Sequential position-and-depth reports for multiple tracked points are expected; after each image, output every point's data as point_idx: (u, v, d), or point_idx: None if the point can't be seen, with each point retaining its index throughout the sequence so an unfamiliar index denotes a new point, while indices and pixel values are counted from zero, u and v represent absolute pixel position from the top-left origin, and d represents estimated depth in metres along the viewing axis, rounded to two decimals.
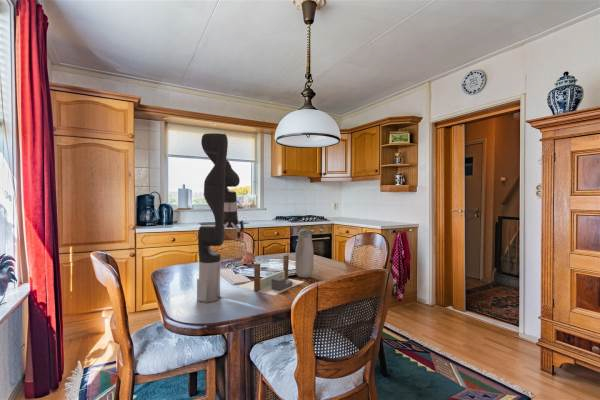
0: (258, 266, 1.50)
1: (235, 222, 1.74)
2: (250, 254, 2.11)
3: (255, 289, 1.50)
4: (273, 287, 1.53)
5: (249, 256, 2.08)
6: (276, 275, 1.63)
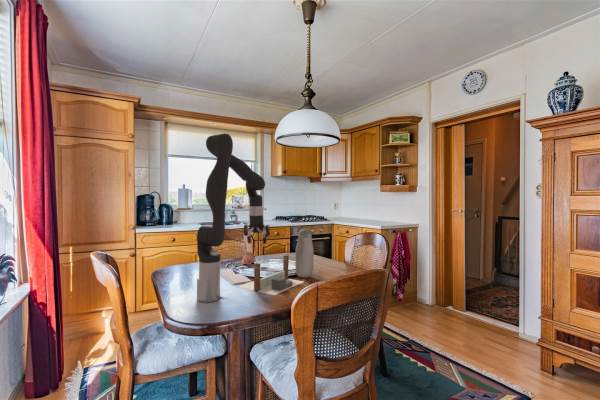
0: (258, 266, 1.50)
1: (261, 227, 1.68)
2: (250, 254, 2.11)
3: (255, 289, 1.50)
4: (273, 287, 1.53)
5: (249, 256, 2.09)
6: (276, 275, 1.63)
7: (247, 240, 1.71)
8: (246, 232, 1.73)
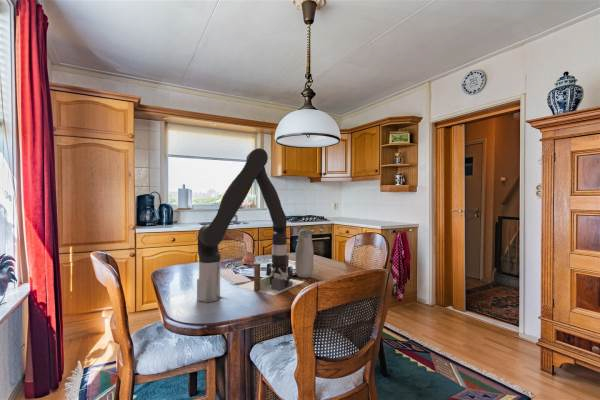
0: (258, 266, 1.50)
1: (283, 268, 1.52)
2: (250, 254, 2.11)
3: (255, 289, 1.50)
4: (273, 287, 1.53)
5: (249, 256, 2.09)
6: (276, 275, 1.63)
7: None
8: (269, 272, 1.58)
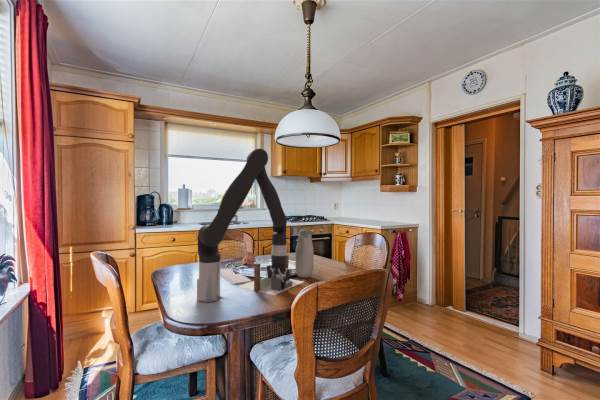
0: (258, 266, 1.50)
1: (282, 269, 1.51)
2: (251, 254, 2.11)
3: (255, 289, 1.50)
4: (273, 287, 1.53)
5: (250, 256, 2.09)
6: (276, 275, 1.63)
7: None
8: (271, 274, 1.57)
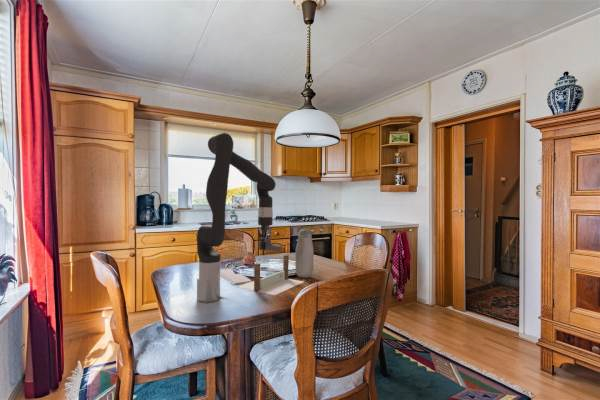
0: (258, 266, 1.50)
1: None
2: (251, 254, 2.11)
3: (255, 289, 1.50)
4: None
5: (250, 256, 2.09)
6: (276, 275, 1.63)
7: None
8: (269, 236, 1.68)
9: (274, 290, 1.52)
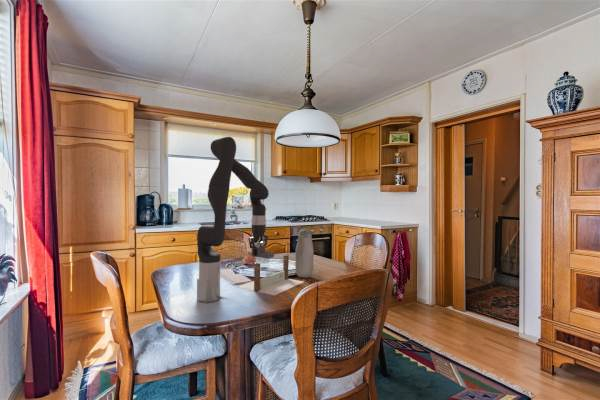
0: (258, 266, 1.50)
1: None
2: (251, 254, 2.11)
3: (255, 289, 1.50)
4: None
5: (250, 256, 2.09)
6: (276, 275, 1.63)
7: None
8: (265, 243, 1.72)
9: (274, 290, 1.52)
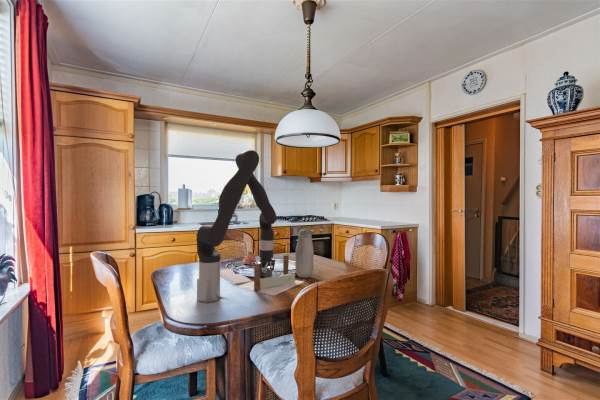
0: (258, 266, 1.50)
1: None
2: (251, 254, 2.12)
3: (255, 289, 1.50)
4: None
5: (251, 256, 2.09)
6: (282, 277, 1.60)
7: None
8: None
9: (274, 290, 1.52)
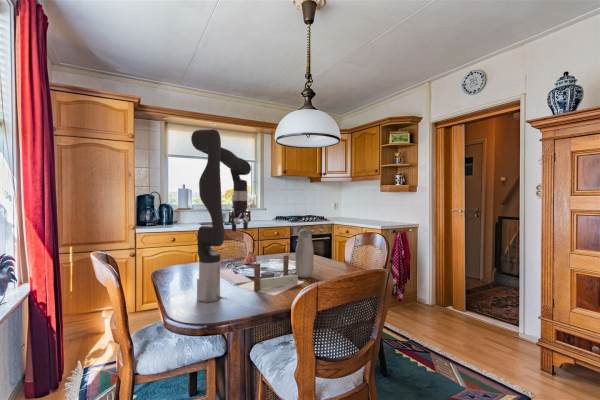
0: (258, 266, 1.50)
1: None
2: (252, 254, 2.12)
3: (255, 289, 1.50)
4: None
5: (251, 256, 2.09)
6: (284, 278, 1.58)
7: None
8: None
9: (274, 290, 1.52)
